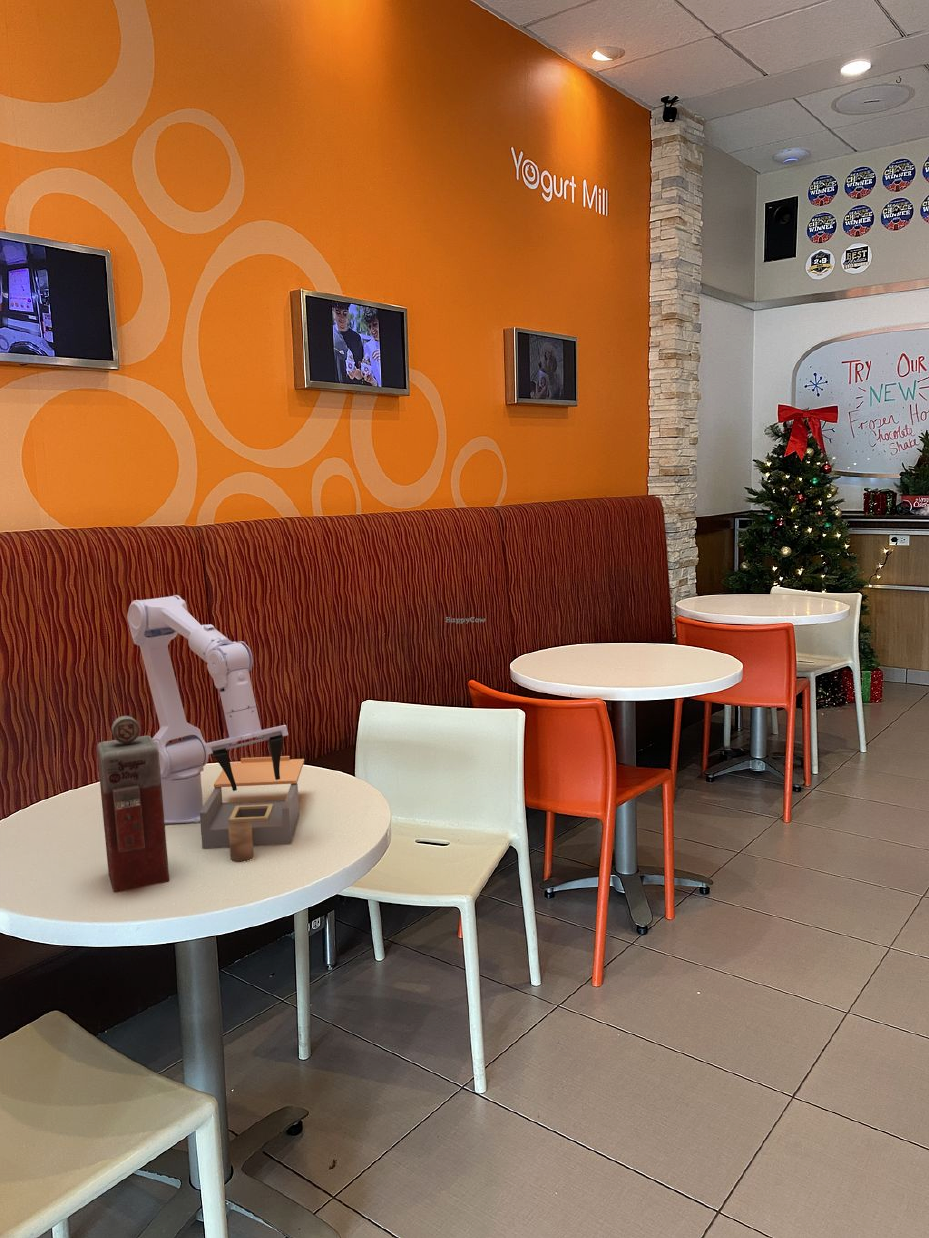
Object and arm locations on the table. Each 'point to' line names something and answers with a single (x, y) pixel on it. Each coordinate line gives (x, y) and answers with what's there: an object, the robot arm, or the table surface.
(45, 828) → the table surface
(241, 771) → the lid
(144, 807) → the vintage gas pump
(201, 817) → the housing
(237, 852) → the brown cylinder
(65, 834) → the table surface
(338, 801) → the table surface
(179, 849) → the table surface
